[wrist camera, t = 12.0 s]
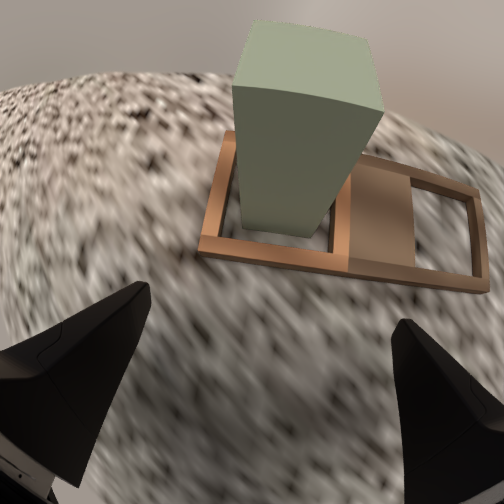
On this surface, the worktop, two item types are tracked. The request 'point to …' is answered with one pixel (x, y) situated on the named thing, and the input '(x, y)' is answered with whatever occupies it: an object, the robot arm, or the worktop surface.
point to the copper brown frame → (357, 227)
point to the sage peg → (300, 122)
